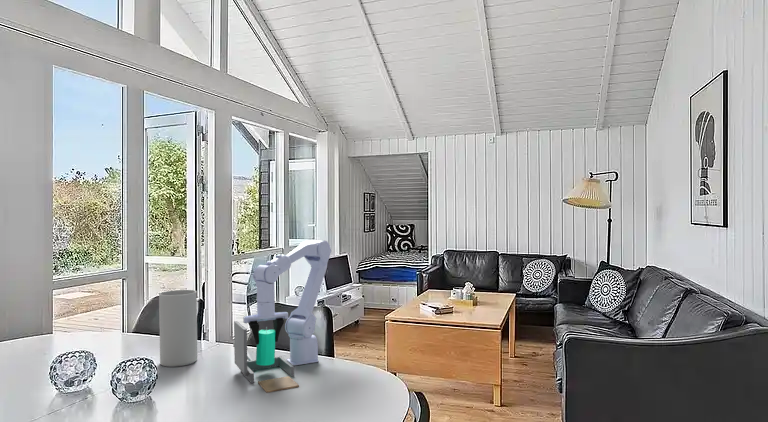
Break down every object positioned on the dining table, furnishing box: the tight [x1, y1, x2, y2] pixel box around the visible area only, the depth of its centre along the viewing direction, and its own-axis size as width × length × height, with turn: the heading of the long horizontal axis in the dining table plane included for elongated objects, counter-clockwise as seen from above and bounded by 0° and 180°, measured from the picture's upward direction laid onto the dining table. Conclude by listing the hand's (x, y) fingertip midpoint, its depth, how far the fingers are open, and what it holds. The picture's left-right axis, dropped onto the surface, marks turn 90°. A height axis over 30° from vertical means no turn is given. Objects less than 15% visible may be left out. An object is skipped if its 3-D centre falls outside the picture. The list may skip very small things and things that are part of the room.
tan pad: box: [257, 375, 300, 394], centre depth 160 cm, size 10×10×1 cm
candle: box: [255, 326, 276, 366], centre depth 171 cm, size 6×6×12 cm
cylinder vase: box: [158, 289, 198, 368], centre depth 186 cm, size 12×12×25 cm
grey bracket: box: [232, 320, 295, 384], centre depth 171 cm, size 16×15×17 cm
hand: (266, 342), depth 171 cm, fingers closed on candle, 6 cm apart
